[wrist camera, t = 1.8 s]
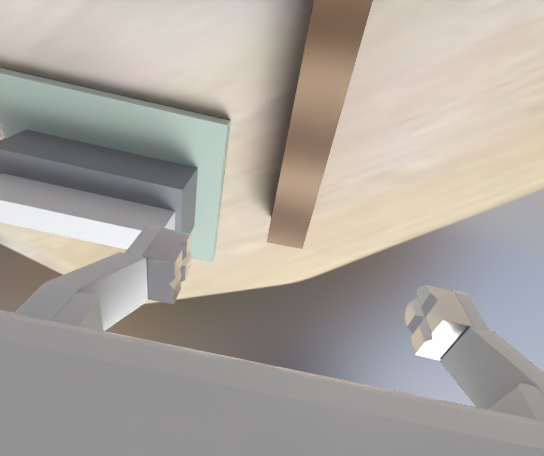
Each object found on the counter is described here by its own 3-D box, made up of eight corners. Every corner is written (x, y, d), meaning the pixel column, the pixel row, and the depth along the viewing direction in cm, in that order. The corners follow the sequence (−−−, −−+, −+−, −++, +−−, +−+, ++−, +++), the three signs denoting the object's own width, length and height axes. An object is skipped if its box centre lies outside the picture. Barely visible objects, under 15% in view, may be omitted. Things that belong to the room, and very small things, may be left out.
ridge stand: (-2, 67, 24) (-120, 89, 17) (230, 120, 24) (201, 161, 18) (40, 217, 32) (-28, 270, 25) (214, 254, 33) (191, 316, 26)
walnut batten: (319, -28, 19) (320, -36, 16) (367, -18, 19) (379, -24, 16) (271, 216, 30) (266, 242, 26) (303, 222, 30) (302, 248, 26)
